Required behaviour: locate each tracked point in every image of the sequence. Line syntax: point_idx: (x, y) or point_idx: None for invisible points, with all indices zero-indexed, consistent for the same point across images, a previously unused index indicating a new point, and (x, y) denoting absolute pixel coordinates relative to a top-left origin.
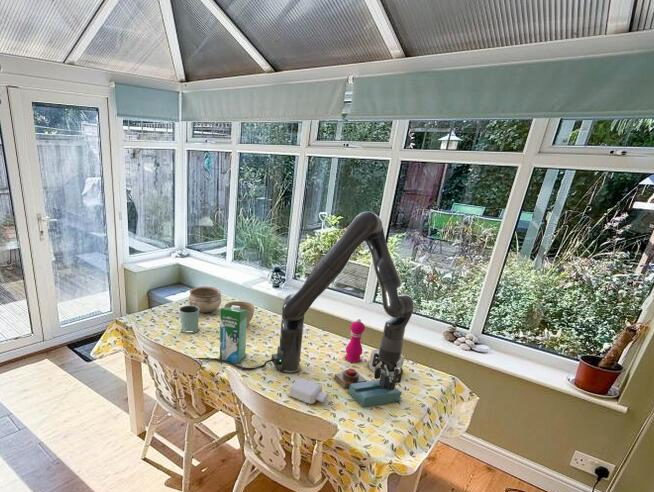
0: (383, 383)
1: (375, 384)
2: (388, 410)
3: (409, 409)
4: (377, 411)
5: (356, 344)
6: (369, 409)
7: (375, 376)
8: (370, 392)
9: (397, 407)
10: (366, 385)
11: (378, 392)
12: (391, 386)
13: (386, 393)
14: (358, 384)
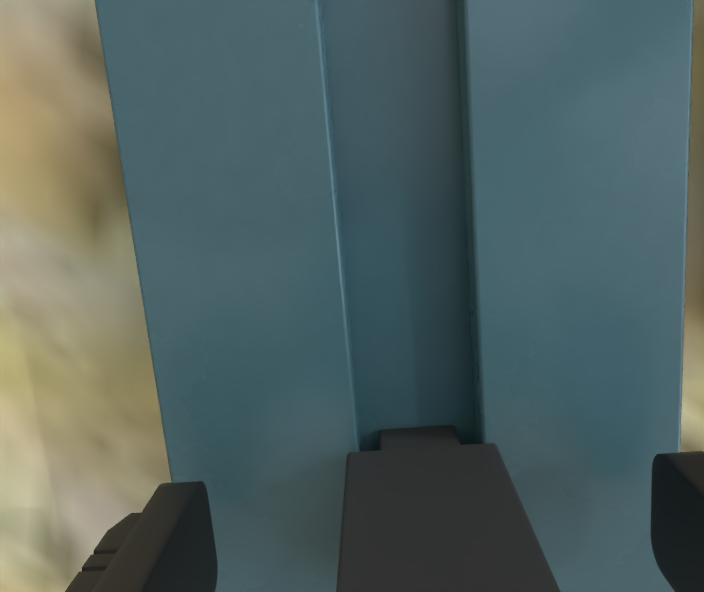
0: (369, 501)
1: (527, 381)
2: (37, 297)
3: (42, 577)
4: (23, 118)
5: None
6: (82, 14)
7: (689, 480)
8: (265, 114)
9: (97, 457)
10: (538, 173)
11: (239, 282)
12: (86, 576)
13: (190, 416)
14: (621, 4)
